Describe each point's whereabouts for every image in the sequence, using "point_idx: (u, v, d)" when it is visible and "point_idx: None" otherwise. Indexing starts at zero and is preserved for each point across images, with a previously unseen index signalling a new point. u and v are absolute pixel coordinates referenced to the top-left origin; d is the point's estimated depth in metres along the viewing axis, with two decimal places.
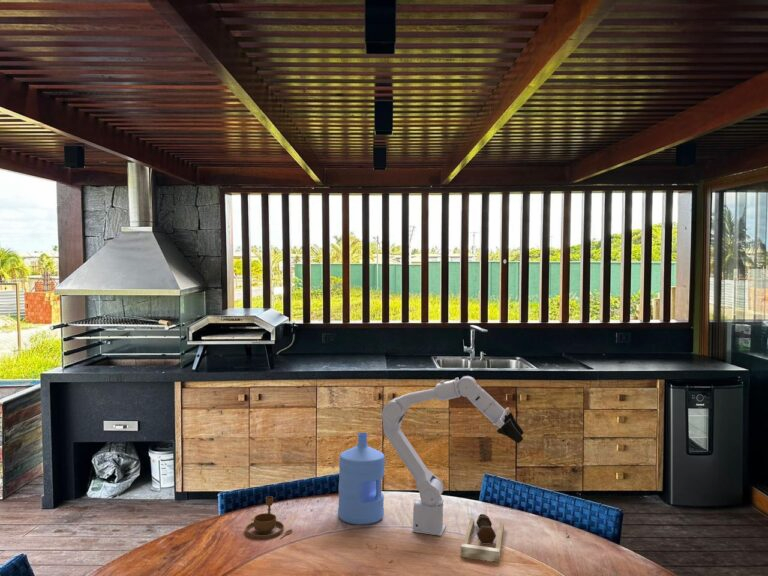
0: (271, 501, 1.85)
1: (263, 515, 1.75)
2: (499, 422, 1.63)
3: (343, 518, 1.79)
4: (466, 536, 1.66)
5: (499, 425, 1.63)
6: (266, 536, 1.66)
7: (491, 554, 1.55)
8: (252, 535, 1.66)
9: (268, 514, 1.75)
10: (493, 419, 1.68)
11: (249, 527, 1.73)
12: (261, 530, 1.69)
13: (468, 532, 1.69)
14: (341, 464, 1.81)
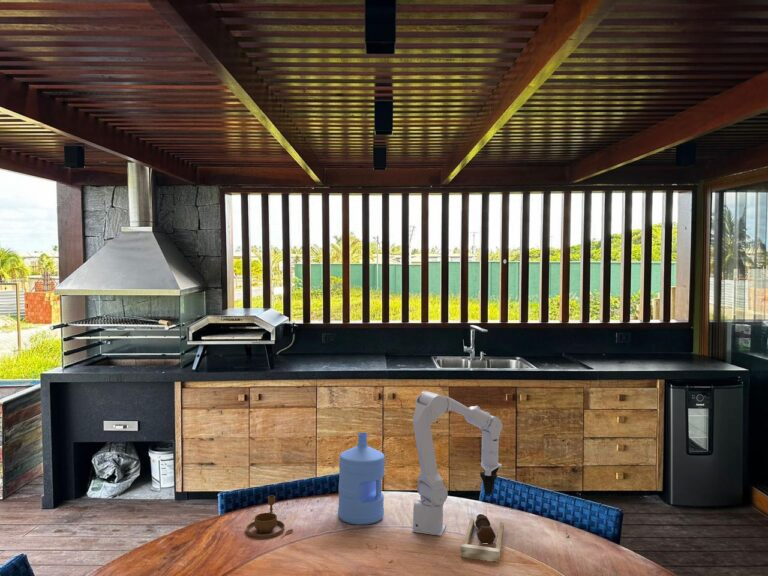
0: (273, 500, 1.86)
1: (264, 514, 1.75)
2: (488, 471, 1.79)
3: (343, 518, 1.79)
4: (466, 536, 1.66)
5: (486, 473, 1.79)
6: (266, 535, 1.66)
7: (491, 554, 1.55)
8: (252, 534, 1.67)
9: (269, 513, 1.75)
10: (485, 462, 1.84)
11: (250, 526, 1.74)
12: (262, 529, 1.69)
13: (468, 532, 1.69)
14: (341, 464, 1.81)
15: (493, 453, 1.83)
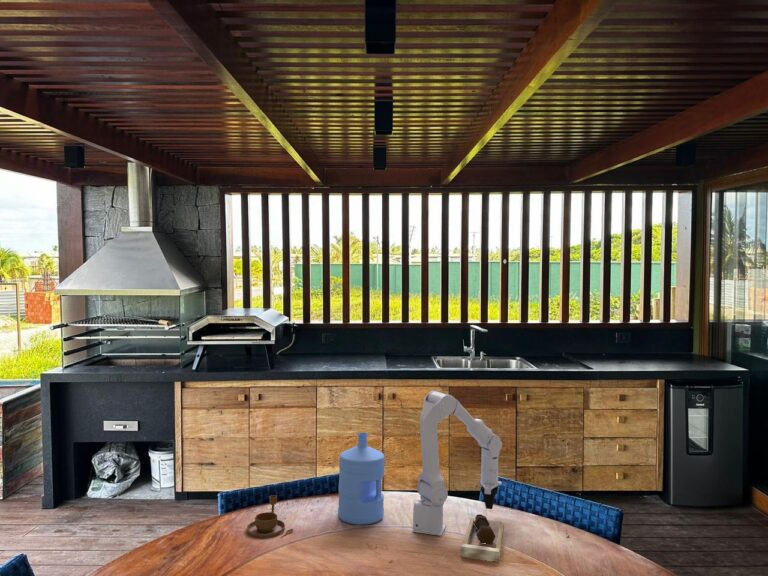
0: (274, 500, 1.86)
1: (265, 514, 1.76)
2: (488, 490, 1.79)
3: (343, 518, 1.79)
4: (466, 536, 1.66)
5: (486, 491, 1.79)
6: (266, 535, 1.67)
7: (491, 554, 1.55)
8: (253, 534, 1.67)
9: (270, 513, 1.76)
10: (484, 480, 1.84)
11: (251, 526, 1.74)
12: (262, 529, 1.69)
13: (468, 532, 1.69)
14: (341, 464, 1.81)
15: (493, 471, 1.83)
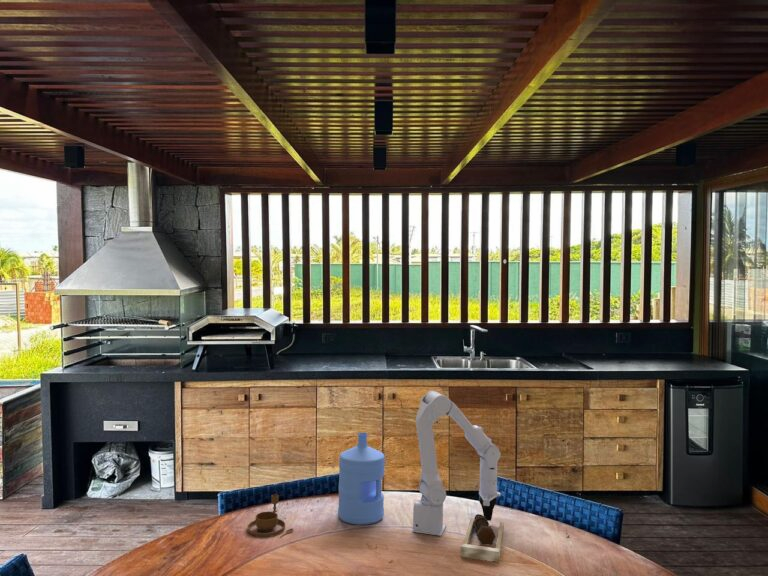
0: (276, 499, 1.87)
1: (266, 513, 1.76)
2: (487, 501, 1.73)
3: (343, 518, 1.79)
4: (466, 536, 1.66)
5: (484, 503, 1.74)
6: (266, 534, 1.67)
7: (491, 554, 1.55)
8: (253, 533, 1.68)
9: (270, 512, 1.76)
10: (483, 491, 1.79)
11: (252, 524, 1.75)
12: (262, 528, 1.70)
13: (468, 532, 1.69)
14: (341, 464, 1.81)
15: (492, 482, 1.78)
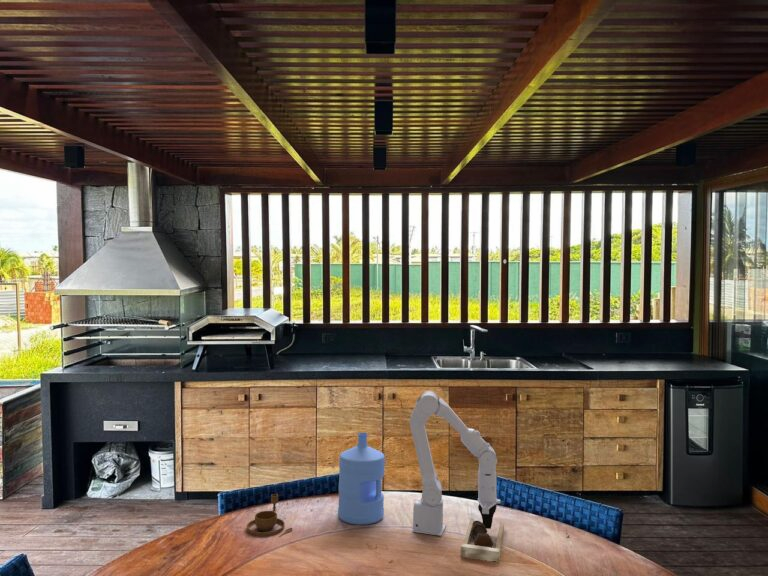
0: (276, 499, 1.87)
1: (265, 512, 1.77)
2: (486, 509, 1.66)
3: (343, 518, 1.79)
4: (466, 536, 1.66)
5: (484, 511, 1.66)
6: (265, 533, 1.68)
7: (491, 554, 1.55)
8: (252, 532, 1.69)
9: (270, 512, 1.77)
10: (482, 499, 1.71)
11: (251, 524, 1.76)
12: (261, 527, 1.71)
13: (468, 532, 1.69)
14: (341, 464, 1.81)
15: (491, 489, 1.71)
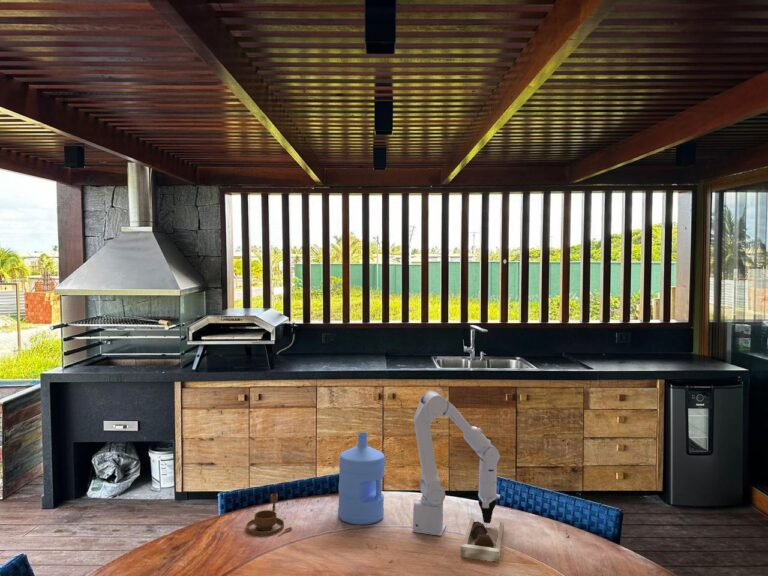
0: (275, 498, 1.88)
1: (265, 512, 1.77)
2: (486, 504, 1.72)
3: (343, 518, 1.79)
4: (466, 536, 1.66)
5: (484, 505, 1.72)
6: (265, 533, 1.68)
7: (491, 554, 1.55)
8: (251, 531, 1.69)
9: (269, 511, 1.77)
10: (482, 493, 1.77)
11: (251, 523, 1.76)
12: (261, 527, 1.71)
13: (468, 532, 1.69)
14: (341, 464, 1.81)
15: (491, 484, 1.76)
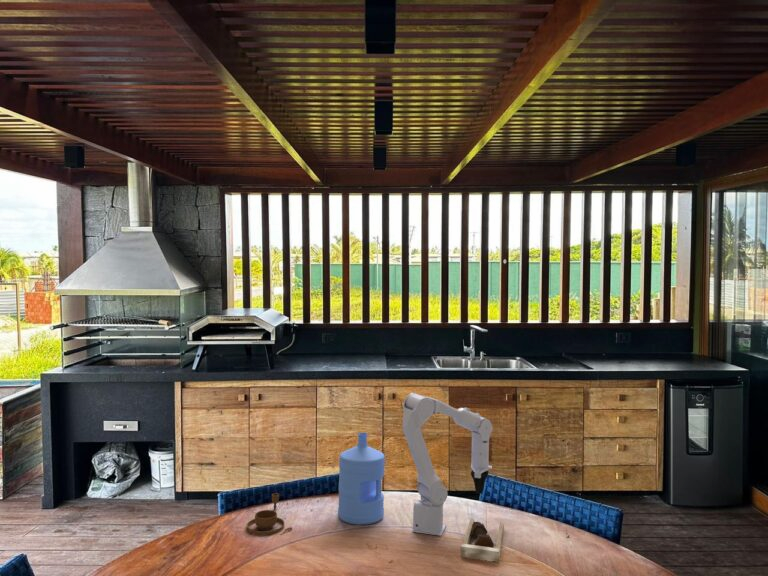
0: (276, 498, 1.88)
1: (265, 512, 1.78)
2: (478, 474, 1.76)
3: (343, 518, 1.79)
4: (466, 536, 1.66)
5: (476, 475, 1.76)
6: (265, 532, 1.69)
7: (491, 554, 1.55)
8: (252, 531, 1.70)
9: (270, 511, 1.78)
10: (475, 464, 1.81)
11: (251, 523, 1.77)
12: (261, 526, 1.71)
13: (468, 532, 1.69)
14: (341, 464, 1.81)
15: (483, 455, 1.81)
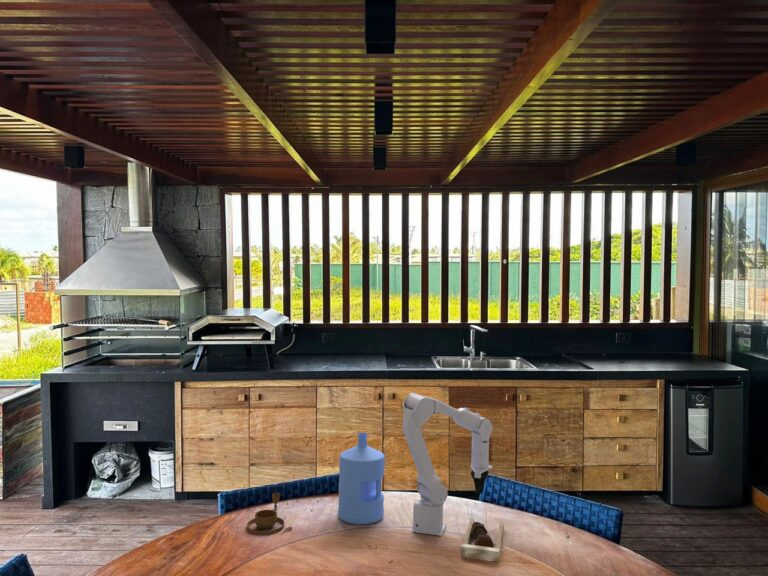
0: (277, 498, 1.89)
1: (265, 511, 1.78)
2: (478, 474, 1.76)
3: (343, 518, 1.79)
4: (466, 536, 1.66)
5: (476, 475, 1.76)
6: (264, 532, 1.69)
7: (491, 554, 1.55)
8: (251, 530, 1.70)
9: (270, 510, 1.78)
10: (475, 464, 1.81)
11: (252, 522, 1.77)
12: (261, 526, 1.72)
13: (468, 532, 1.69)
14: (341, 464, 1.81)
15: (483, 455, 1.81)
